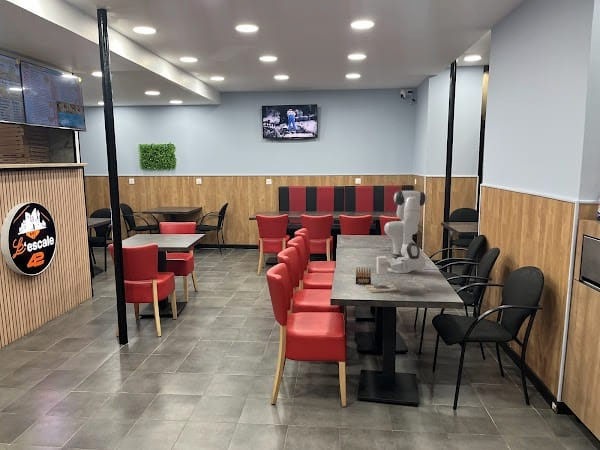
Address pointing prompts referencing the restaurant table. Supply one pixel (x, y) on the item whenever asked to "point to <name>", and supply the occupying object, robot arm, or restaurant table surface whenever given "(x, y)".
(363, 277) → the ammunition clip
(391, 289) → the header board
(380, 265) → the block
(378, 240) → the restaurant table surface
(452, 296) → the restaurant table surface
